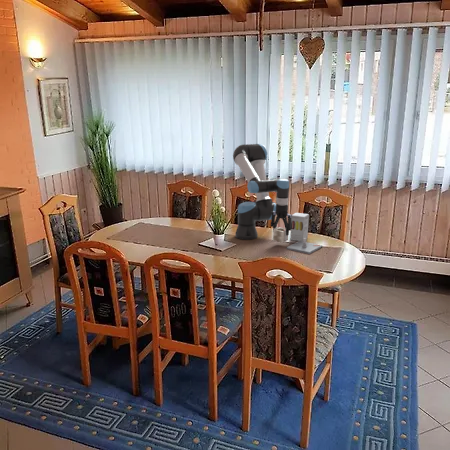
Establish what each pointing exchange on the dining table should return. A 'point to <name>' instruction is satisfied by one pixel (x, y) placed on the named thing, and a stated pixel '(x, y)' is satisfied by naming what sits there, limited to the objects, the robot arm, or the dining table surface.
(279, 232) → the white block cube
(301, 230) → the supplement box
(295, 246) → the shaft plate
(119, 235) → the dining table surface
